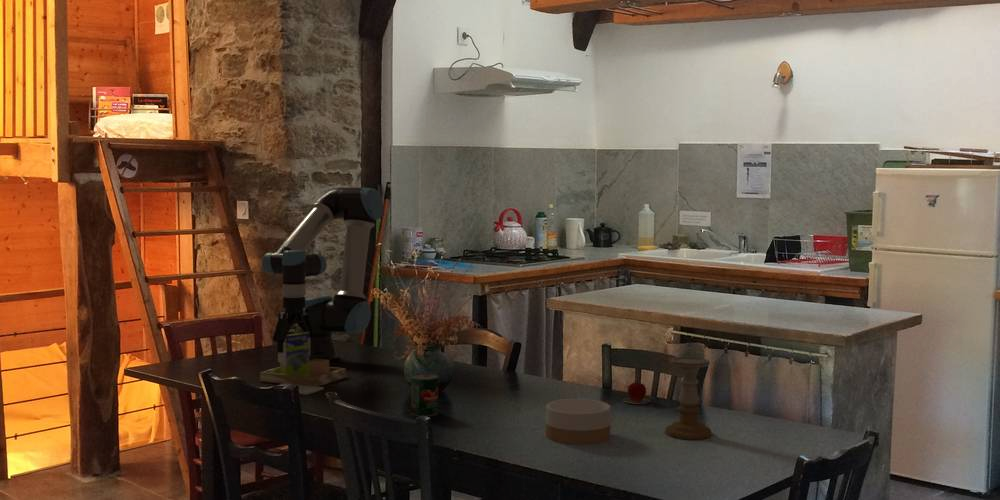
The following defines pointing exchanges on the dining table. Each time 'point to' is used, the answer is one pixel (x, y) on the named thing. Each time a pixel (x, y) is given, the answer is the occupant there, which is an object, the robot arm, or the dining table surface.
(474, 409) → the dining table surface
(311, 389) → the sage mat
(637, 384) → the apple
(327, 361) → the terracotta block
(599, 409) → the brown round container
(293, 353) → the box
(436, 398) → the canned tomato
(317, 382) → the crate frame
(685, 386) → the candle holder
